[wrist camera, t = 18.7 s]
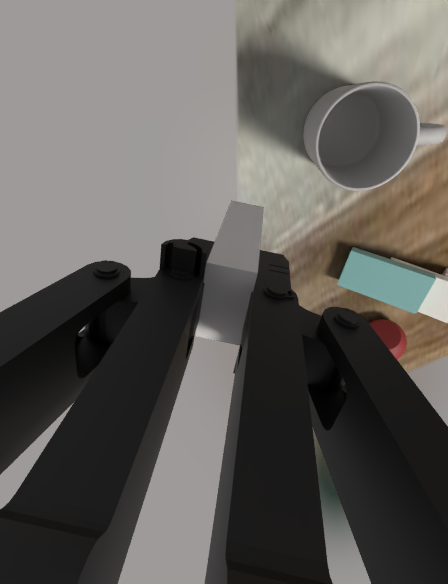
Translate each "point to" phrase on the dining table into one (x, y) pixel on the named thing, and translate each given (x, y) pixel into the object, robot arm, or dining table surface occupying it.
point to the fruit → (390, 336)
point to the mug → (365, 134)
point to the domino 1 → (386, 280)
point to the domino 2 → (434, 296)
